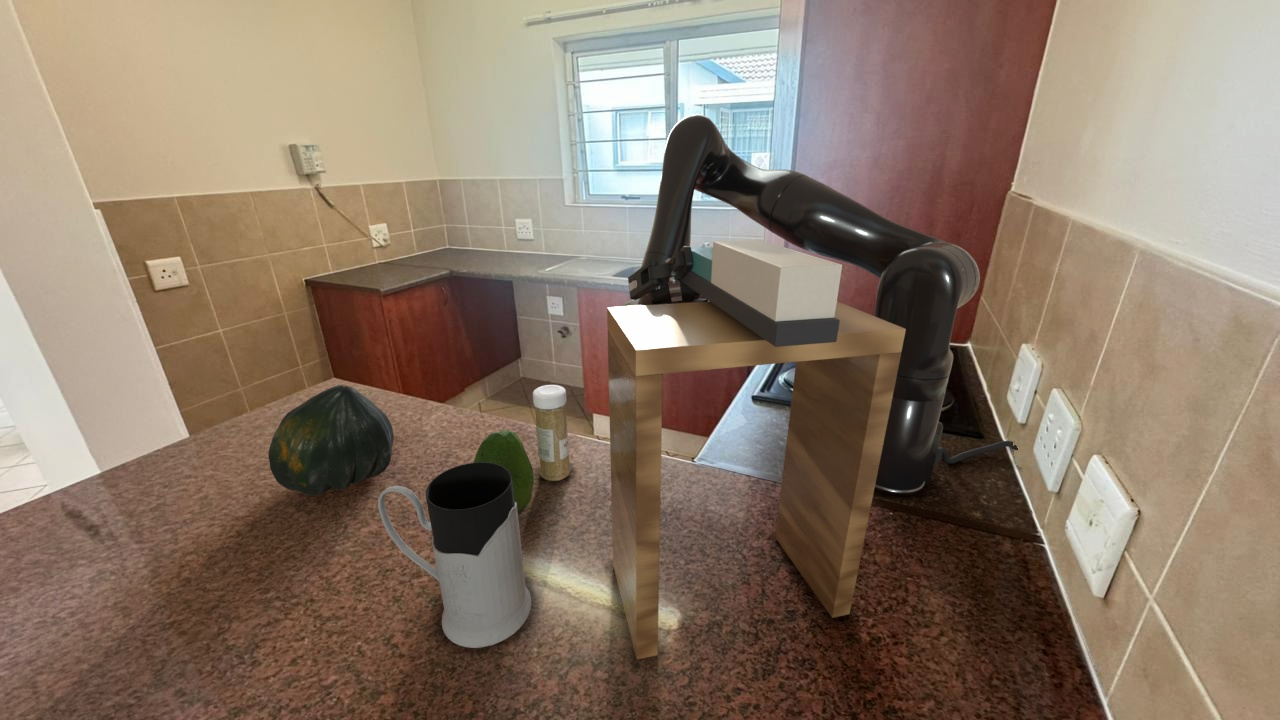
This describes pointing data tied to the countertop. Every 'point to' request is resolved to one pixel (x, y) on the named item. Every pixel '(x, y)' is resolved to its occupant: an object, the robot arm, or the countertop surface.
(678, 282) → the robot arm
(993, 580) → the countertop surface
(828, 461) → the wooden stand
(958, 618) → the countertop surface
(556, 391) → the spice jar
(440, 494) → the glass holder
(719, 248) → the beige green block bar
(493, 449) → the avocado
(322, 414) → the squash
